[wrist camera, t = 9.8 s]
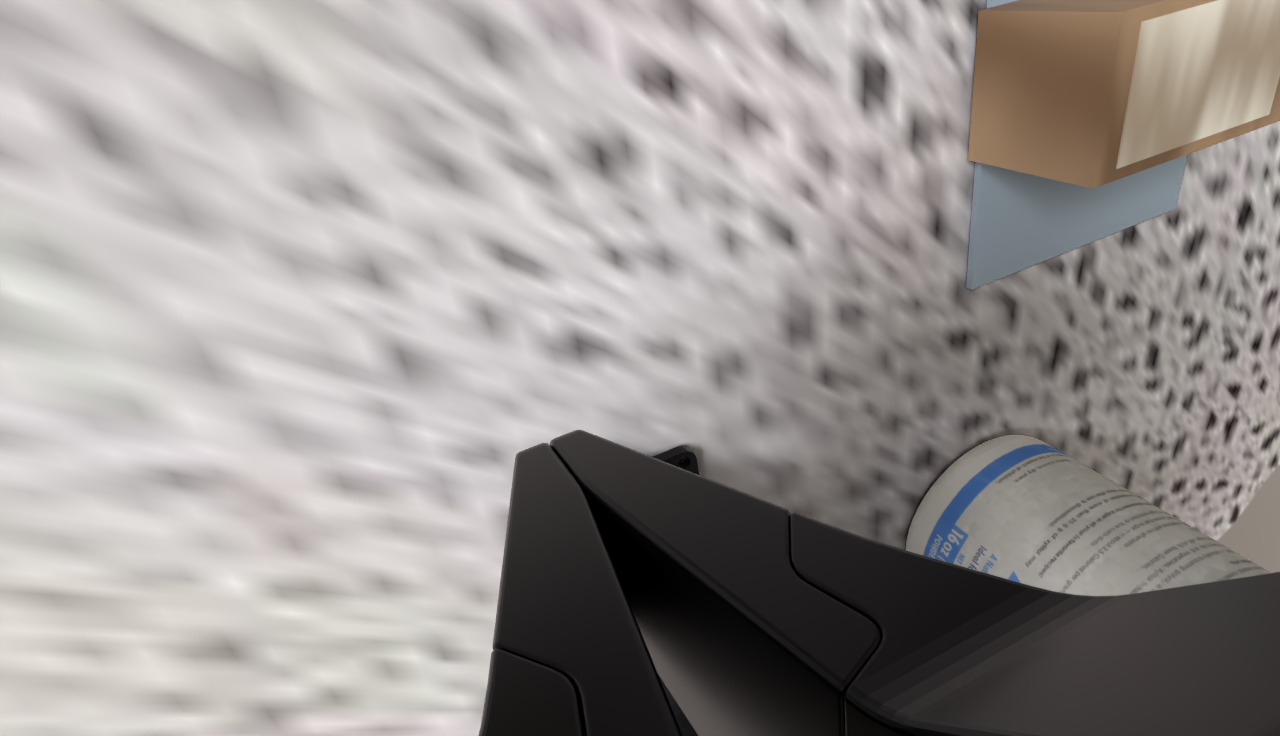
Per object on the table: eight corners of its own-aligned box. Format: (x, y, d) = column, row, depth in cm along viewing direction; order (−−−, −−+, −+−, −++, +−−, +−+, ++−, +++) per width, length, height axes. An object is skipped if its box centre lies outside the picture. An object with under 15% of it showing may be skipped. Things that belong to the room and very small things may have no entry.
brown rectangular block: (967, 160, 27) (1141, 103, 29) (1094, 189, 23) (1283, 120, 25) (978, 10, 24) (1167, -38, 27) (1123, 12, 20) (1329, -45, 23)
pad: (1169, 206, 33) (1176, 208, 33) (965, 287, 30) (971, 289, 30) (1265, -238, 25) (1274, -240, 25) (1001, -196, 22) (1009, -198, 22)
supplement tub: (872, 517, 34) (1201, 801, 22) (1024, 389, 35) (1423, 595, 23) (925, 615, 39) (1210, 885, 27) (1054, 503, 40) (1388, 718, 28)
